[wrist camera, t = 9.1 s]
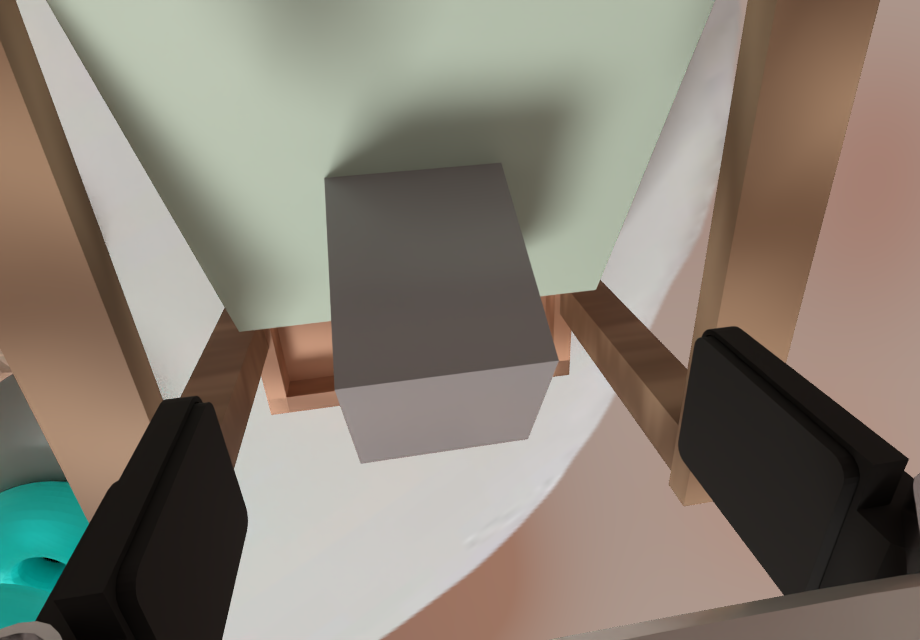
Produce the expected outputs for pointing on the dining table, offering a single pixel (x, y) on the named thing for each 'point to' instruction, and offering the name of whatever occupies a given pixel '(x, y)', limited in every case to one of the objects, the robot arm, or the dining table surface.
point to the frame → (310, 345)
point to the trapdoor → (382, 119)
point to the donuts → (35, 545)
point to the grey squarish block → (433, 312)
